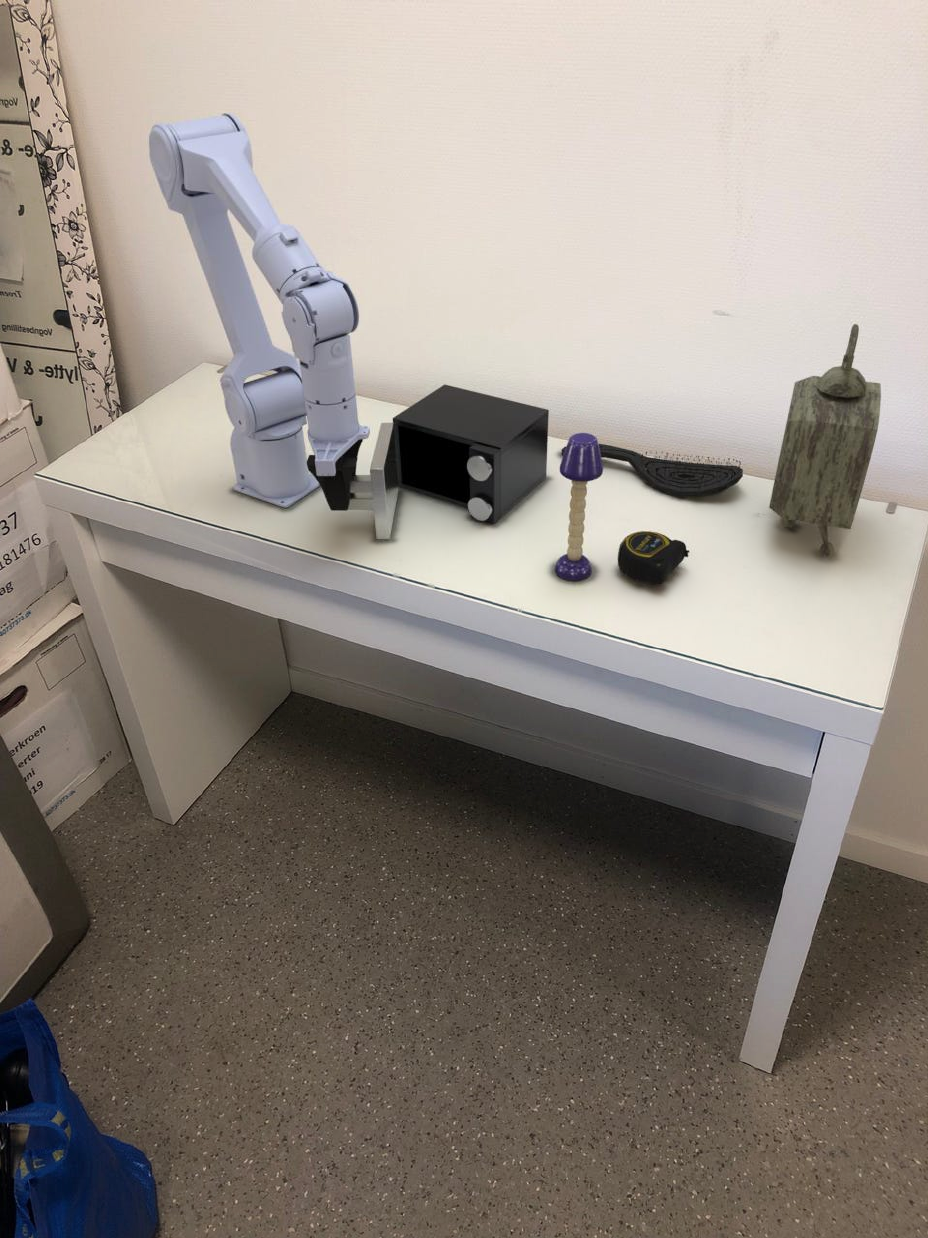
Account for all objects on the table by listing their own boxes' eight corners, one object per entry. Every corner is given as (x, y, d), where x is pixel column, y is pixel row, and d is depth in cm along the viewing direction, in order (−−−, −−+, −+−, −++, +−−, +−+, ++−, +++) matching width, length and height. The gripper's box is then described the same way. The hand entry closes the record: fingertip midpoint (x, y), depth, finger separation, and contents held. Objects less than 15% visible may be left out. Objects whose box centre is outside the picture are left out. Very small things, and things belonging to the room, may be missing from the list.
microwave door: (329, 539, 112) (319, 469, 106) (343, 489, 122) (335, 422, 116) (389, 539, 112) (383, 468, 106) (398, 489, 122) (393, 422, 116)
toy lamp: (553, 557, 108) (559, 428, 98) (593, 557, 108) (603, 427, 98) (555, 581, 105) (562, 449, 94) (596, 581, 104) (607, 448, 94)
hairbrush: (575, 422, 130) (752, 453, 119) (575, 446, 132) (748, 478, 121) (549, 447, 124) (732, 481, 113) (550, 471, 126) (729, 507, 116)
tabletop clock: (840, 567, 105) (898, 357, 90) (759, 553, 108) (802, 347, 93) (845, 505, 116) (898, 308, 101) (771, 494, 119) (811, 300, 103)
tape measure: (659, 596, 102) (663, 568, 100) (605, 575, 105) (607, 548, 103) (687, 567, 106) (691, 540, 104) (634, 548, 109) (637, 522, 107)
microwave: (490, 528, 114) (490, 455, 108) (386, 495, 121) (380, 425, 115) (546, 478, 123) (548, 409, 117) (447, 450, 130) (444, 383, 124)
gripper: (356, 423, 96) (367, 532, 105) (373, 367, 108) (382, 469, 116) (290, 423, 97) (306, 531, 105) (313, 367, 108) (326, 469, 117)
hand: (342, 499), depth 111 cm, fingers open, 4 cm apart
